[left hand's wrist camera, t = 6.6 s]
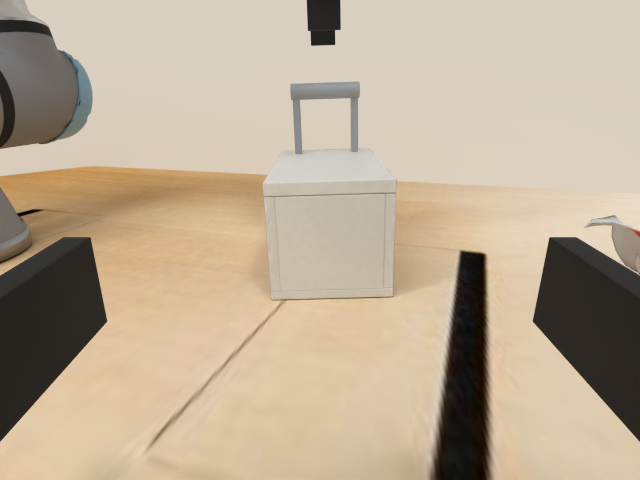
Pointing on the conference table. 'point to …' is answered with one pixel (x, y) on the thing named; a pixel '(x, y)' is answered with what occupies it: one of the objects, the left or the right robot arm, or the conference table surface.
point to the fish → (623, 240)
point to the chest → (331, 245)
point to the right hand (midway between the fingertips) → (323, 39)
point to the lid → (327, 155)
